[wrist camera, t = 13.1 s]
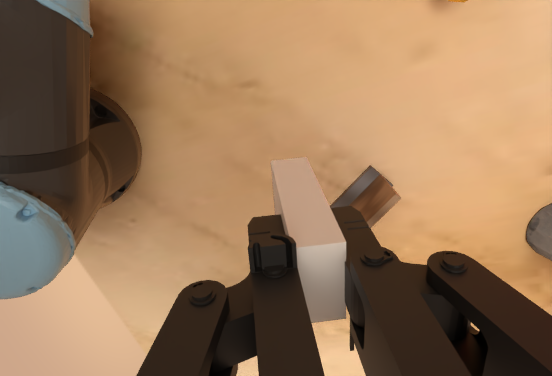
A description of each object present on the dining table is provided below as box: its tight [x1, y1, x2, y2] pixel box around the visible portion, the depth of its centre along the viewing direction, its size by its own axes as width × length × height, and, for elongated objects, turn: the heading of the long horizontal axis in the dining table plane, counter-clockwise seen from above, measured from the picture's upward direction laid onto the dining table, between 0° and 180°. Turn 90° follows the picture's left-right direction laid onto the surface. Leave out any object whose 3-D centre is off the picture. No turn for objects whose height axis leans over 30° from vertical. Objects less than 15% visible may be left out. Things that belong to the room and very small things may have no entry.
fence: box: [330, 166, 401, 228], centre depth 57 cm, size 38×4×9 cm, turn 139°
